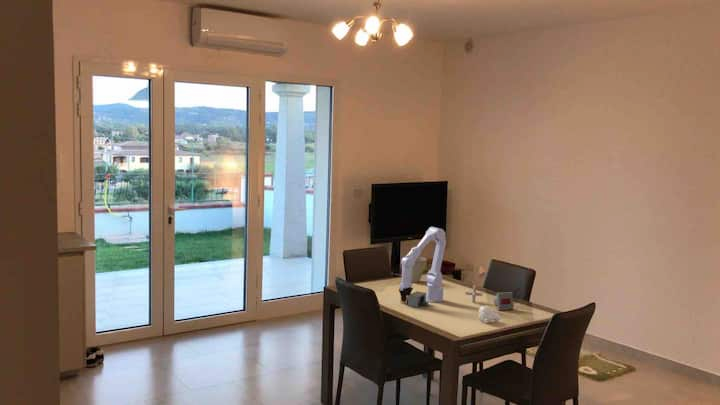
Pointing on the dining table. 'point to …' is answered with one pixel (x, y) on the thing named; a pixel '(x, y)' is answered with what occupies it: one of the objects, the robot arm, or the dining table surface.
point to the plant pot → (418, 269)
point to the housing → (416, 299)
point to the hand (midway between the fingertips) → (405, 300)
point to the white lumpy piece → (488, 314)
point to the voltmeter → (505, 300)
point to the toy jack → (474, 294)
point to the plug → (422, 303)
